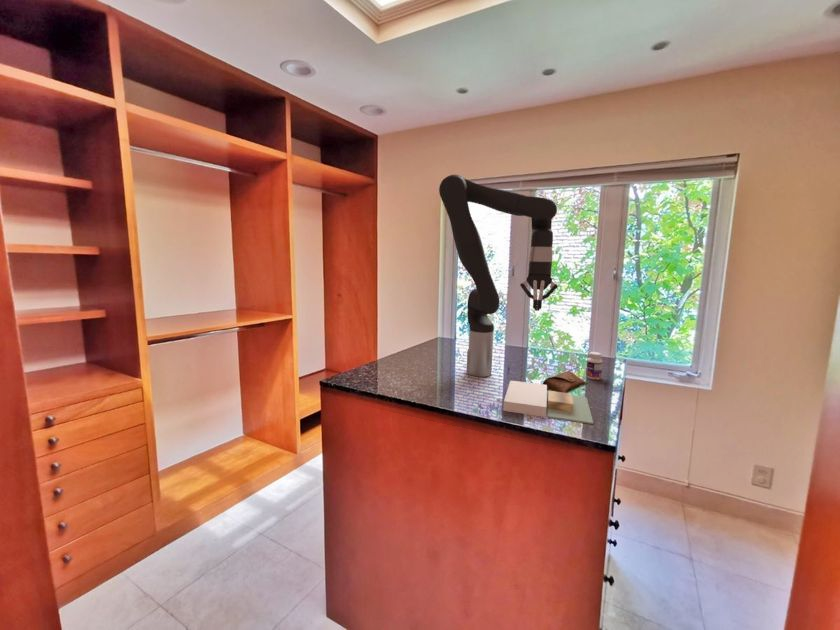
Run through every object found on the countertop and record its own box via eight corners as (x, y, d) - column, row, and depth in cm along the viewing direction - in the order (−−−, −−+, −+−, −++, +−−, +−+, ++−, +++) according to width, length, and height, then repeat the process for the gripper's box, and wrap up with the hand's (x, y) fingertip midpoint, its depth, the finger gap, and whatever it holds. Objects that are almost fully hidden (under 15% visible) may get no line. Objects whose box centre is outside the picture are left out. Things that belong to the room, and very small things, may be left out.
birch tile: (547, 408, 112) (548, 400, 111) (548, 398, 120) (548, 390, 120) (572, 412, 109) (573, 404, 109) (571, 401, 118) (571, 393, 117)
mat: (547, 417, 106) (547, 416, 106) (547, 393, 125) (547, 392, 125) (593, 424, 103) (593, 422, 102) (586, 398, 121) (586, 397, 121)
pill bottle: (582, 375, 146) (585, 351, 144) (596, 375, 146) (598, 351, 144) (590, 379, 140) (592, 355, 139) (603, 379, 141) (606, 354, 139)
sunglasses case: (565, 394, 125) (557, 375, 126) (547, 399, 130) (540, 380, 131) (588, 382, 137) (580, 365, 138) (571, 387, 142) (564, 371, 143)
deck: (503, 410, 110) (503, 401, 110) (509, 388, 129) (510, 380, 129) (545, 417, 107) (546, 407, 106) (546, 393, 125) (546, 384, 125)
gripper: (519, 260, 126) (516, 310, 129) (561, 261, 122) (557, 313, 124) (521, 260, 133) (518, 307, 136) (560, 260, 129) (556, 310, 131)
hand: (537, 310), depth 130 cm, fingers closed
